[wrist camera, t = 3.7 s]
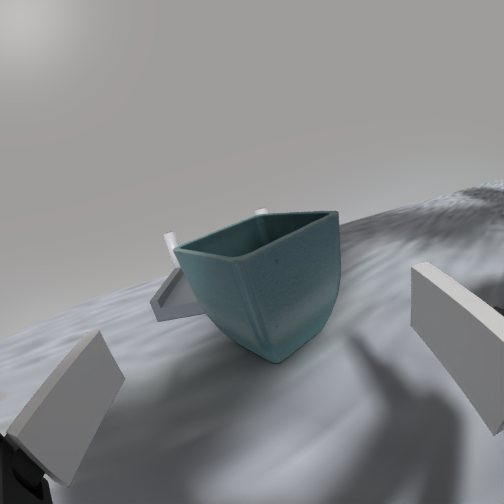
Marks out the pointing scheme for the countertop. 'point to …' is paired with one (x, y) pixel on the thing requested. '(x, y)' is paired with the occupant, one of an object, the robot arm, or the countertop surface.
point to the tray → (177, 288)
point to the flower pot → (267, 278)
